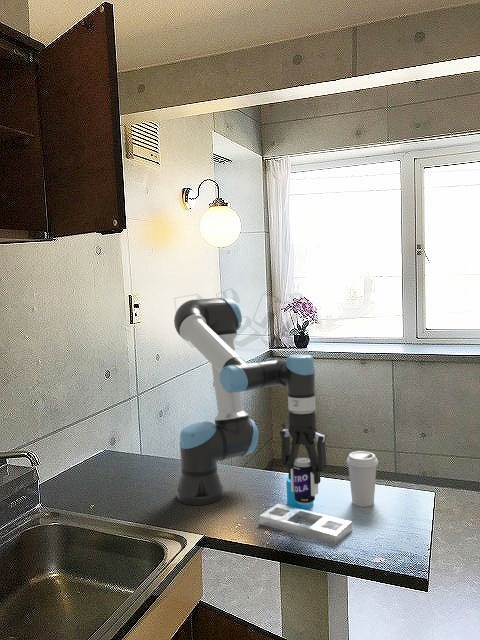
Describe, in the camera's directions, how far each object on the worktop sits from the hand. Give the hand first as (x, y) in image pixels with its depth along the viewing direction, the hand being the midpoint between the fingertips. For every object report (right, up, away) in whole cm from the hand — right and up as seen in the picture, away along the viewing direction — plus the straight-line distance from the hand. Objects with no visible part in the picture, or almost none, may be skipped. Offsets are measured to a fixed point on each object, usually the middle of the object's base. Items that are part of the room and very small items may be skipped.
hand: (304, 492), depth 157 cm
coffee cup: (+20, -8, +16) cm, 27 cm away
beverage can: (0, -3, 0) cm, 3 cm away
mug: (+2, -9, +18) cm, 21 cm away
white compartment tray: (0, -10, +1) cm, 10 cm away
